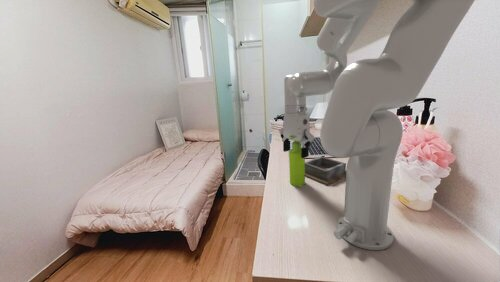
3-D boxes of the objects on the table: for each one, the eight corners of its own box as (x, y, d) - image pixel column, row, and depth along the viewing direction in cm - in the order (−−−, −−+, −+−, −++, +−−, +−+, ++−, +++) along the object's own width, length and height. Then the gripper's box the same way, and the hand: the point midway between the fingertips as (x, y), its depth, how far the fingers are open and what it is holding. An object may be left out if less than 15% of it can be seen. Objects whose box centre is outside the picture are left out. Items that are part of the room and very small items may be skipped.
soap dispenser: (285, 184, 82) (283, 135, 77) (295, 178, 87) (294, 131, 82) (298, 188, 78) (297, 137, 73) (307, 181, 83) (307, 133, 78)
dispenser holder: (327, 185, 78) (327, 174, 77) (296, 173, 92) (296, 162, 90) (352, 174, 86) (352, 163, 85) (320, 164, 100) (320, 154, 99)
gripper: (321, 110, 70) (320, 157, 75) (286, 107, 84) (287, 146, 89) (305, 112, 66) (305, 162, 71) (272, 109, 80) (273, 150, 85)
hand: (295, 153), depth 80 cm, fingers open, 9 cm apart
